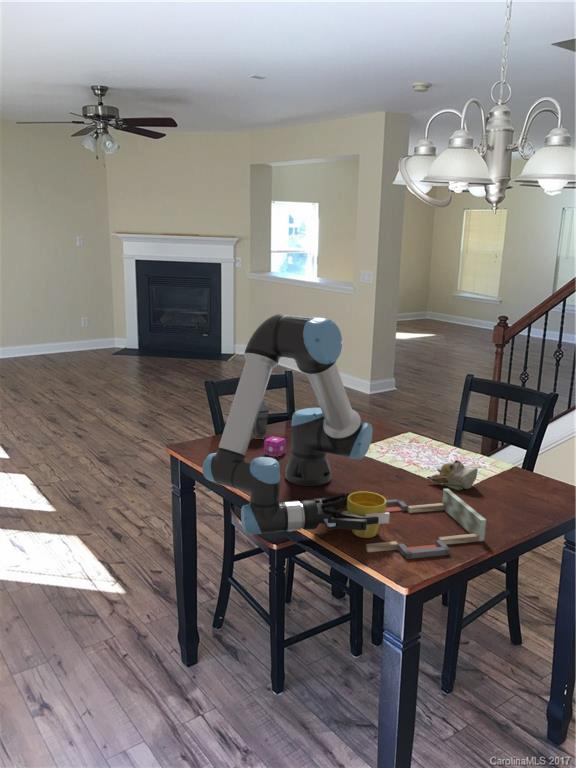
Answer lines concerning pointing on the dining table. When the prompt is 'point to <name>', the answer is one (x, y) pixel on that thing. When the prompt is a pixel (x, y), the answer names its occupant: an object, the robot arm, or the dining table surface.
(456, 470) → the ceramic sculpture
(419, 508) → the box
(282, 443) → the puzzle toy
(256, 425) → the beverage cup
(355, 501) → the plant pot
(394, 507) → the trap bays
